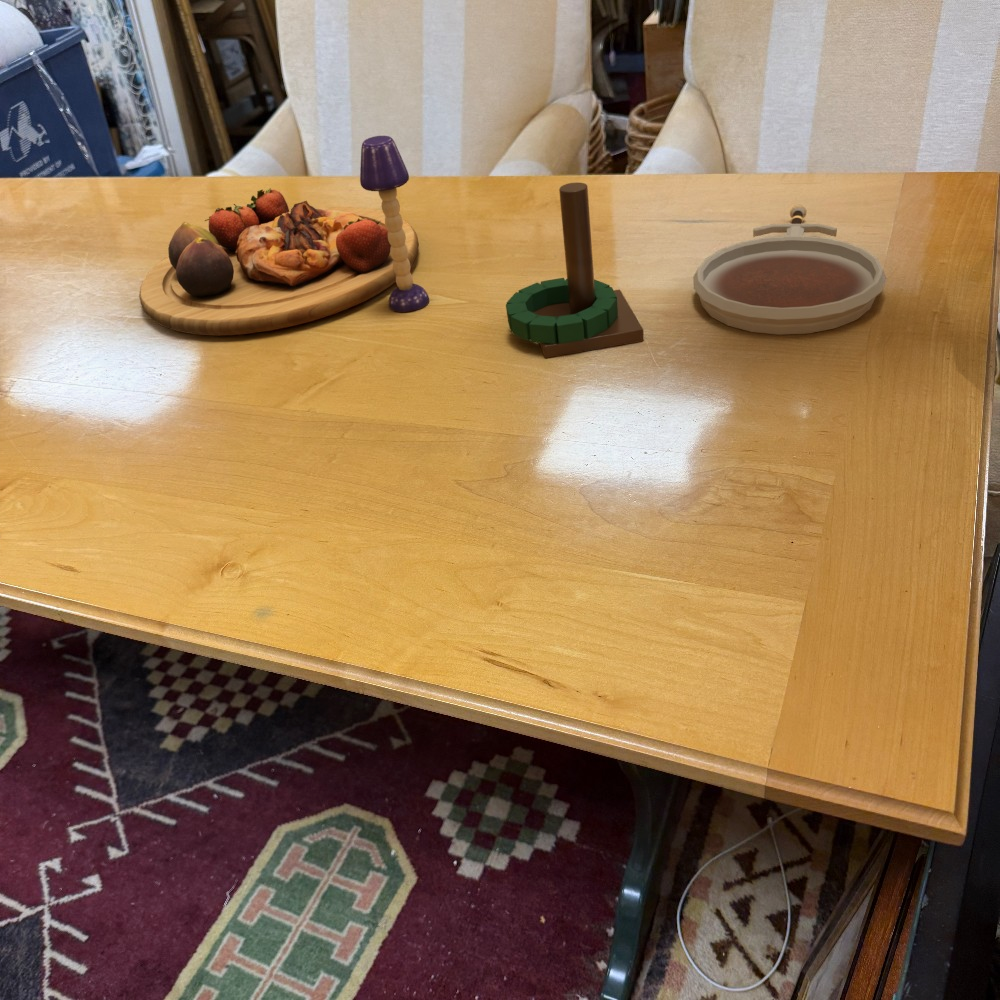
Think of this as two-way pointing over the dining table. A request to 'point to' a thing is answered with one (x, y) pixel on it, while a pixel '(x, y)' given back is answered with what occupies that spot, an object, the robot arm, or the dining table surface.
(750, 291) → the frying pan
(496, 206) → the dining table surface
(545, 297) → the ring
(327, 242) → the wooden plate
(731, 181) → the dining table surface
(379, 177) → the toy lamp
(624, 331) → the post
